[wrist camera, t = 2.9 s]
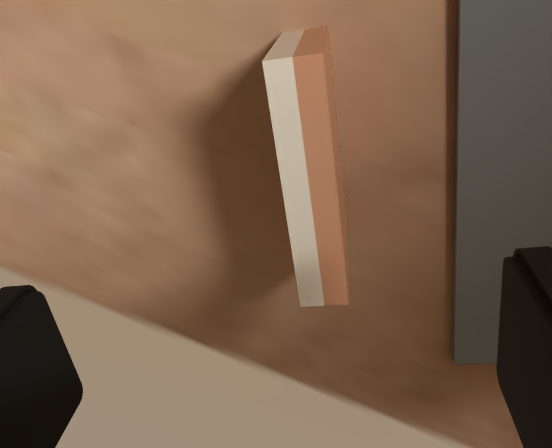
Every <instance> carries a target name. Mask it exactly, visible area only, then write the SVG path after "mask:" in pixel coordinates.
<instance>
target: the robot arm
mask: <svg viewBox="0 0 552 448" xmlns="http://www.w3.org/2000/svg"><path fill="white" fill-rule="evenodd" d="M497 376H498V381H499V385H500V388H501V390H502V393H503V396H504V398H505V401H506V403H507V406H508V408H509V411H510V414H511V416H512V419H513V421H514V424H515V426H516V429H517V432H518V434H519V437H520V439H521V442H522V444H523V447H524V448H552V248H551V247H550V246H543V247H529V248H517V249H515V251H514V253H513V257H505V258H504V261H503V270H502V286H501V303H500V319H499V336H498V352H497ZM82 394H83V387H82V383H81V381H80V379H79V376H78V374H77V371H76V369H75V367H74V364H73V362H72V360H71V357H70V355H69V353H68V350H67V348H66V345H65V343H64V341H63V338H62V336H61V334H60V331H59V329H58V327H57V324H56V322H55V320H54V317H53V315H52V313H51V310H50V308H49V305H48V303H47V301H46V298H45V297H44V295H43V294H42V293H41V292H39V291H37V290H36V289H35V288H34V287H33V286H30V285H24V286H11V287H3V288H1V289H0V448H55V447H56V445H57V443H58V441H59V440H60V438H61V436H62V434H63V432H64V431H65V429H66V427H67V425H68V423H69V422H70V420H71V418H72V416H73V414H74V413H75V411H76V409H77V407H78V405H79V404H80V402H81V399H82Z"/></svg>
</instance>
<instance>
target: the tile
mask: <svg viewBox="0 0 552 448" xmlns="http://www.w3.org/2000/svg"><path fill="white" fill-rule="evenodd" d="M262 64H263V70H264V77H265V83H266V90H267V96H268V102H269V109H270V115H271V122H272V128H273V134H274V141H275V147H276V154H277V160H278V167H279V173H280V179H281V186H282V192H283V199H284V205H285V211H286V218H287V224H288V231H289V237H290V243H291V250H292V256H293V263H294V269H295V275H296V282H297V288H298V295H299V301H300V307H310V306H331V305H349V275H348V227H347V216H346V206H345V195H344V185H343V174H342V164H341V154H340V143H339V133H338V122H337V112H336V101H335V91H334V80H333V70H332V59H331V49H330V38H329V28H328V26H325V27H318V28H311V29H304V30H297V31H290V32H283V33H281V35H280V36H279V37H278V39H277V40H276V42H275V43H274V45H273V46H272V47H271V49H270V50H269V52H268V53H267V55H266V56H265V58H264V59H263V60H262Z"/></svg>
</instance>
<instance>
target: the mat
mask: <svg viewBox="0 0 552 448" xmlns="http://www.w3.org/2000/svg"><path fill="white" fill-rule="evenodd" d="M543 246H550V247H551V248H552V0H458V22H457V96H456V171H455V245H454V319H453V360H454V364H490V363H497V352H498V336H499V319H500V303H501V286H502V270H503V261H504V258H505V257H513V253H514V251H515V249H517V248H529V247H543Z"/></svg>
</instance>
